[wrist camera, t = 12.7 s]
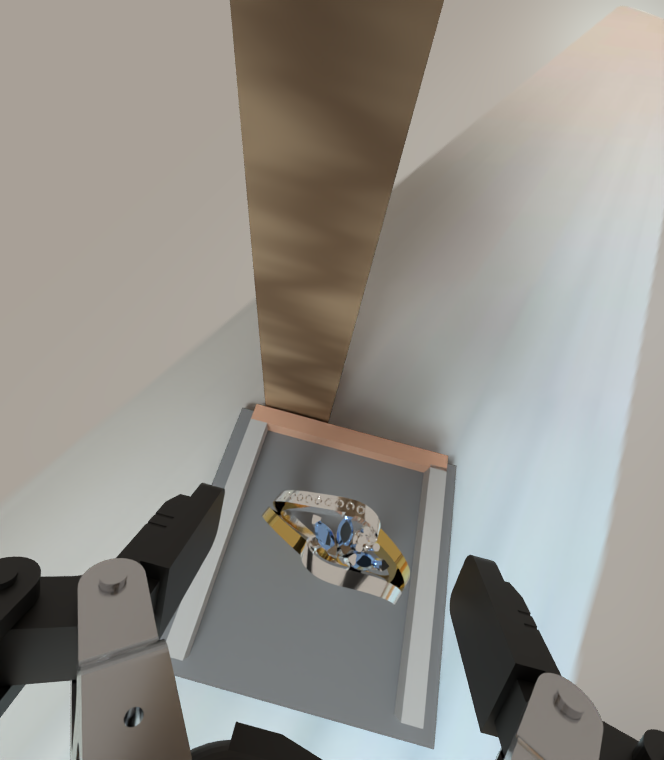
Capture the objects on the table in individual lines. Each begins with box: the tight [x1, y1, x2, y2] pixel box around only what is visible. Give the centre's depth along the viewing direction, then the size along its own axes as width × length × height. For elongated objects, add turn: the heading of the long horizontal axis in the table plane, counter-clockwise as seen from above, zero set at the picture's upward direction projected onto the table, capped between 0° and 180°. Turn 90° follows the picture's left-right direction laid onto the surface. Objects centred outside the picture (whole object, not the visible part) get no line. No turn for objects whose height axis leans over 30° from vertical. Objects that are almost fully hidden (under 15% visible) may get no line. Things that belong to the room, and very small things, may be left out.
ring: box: [262, 490, 410, 607], centre depth 17 cm, size 7×3×8 cm, turn 53°
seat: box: [160, 404, 456, 749], centre depth 21 cm, size 14×14×2 cm
